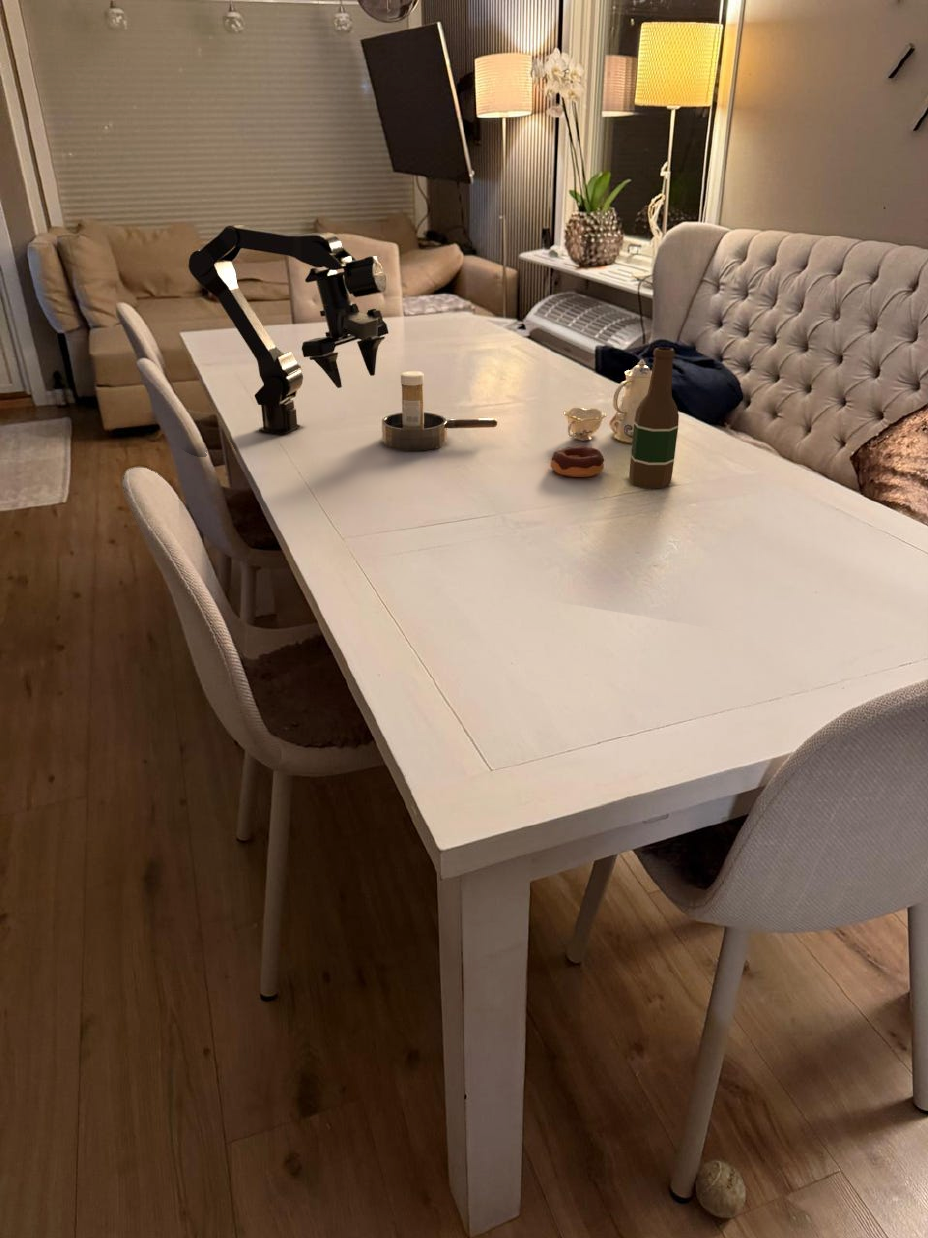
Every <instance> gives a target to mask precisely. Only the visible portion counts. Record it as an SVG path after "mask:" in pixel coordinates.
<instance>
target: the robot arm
mask: <svg viewBox="0 0 928 1238" xmlns="http://www.w3.org/2000/svg"><path fill="white" fill-rule="evenodd" d="M243 249H245V250H251V251H255V252H257V251H258V252H263V253H270V254H274V255H280V256H281V255H282V256H288V257H291V258H294V259H295V260H297V261H299V262H301V263H303V264H306V265H308V266H311V268H310V269H309V272H308V275H307V276H306V278H305V280H304V282H305V283H306V284H308V283H313V282H316V286H317V289H318V295H319V298H320V302H321V305H322V309H323V310H319V314H320V317H324V318H325V321H326V325H327V329H328V331H325V332H324V334H325V336H323V337H315V338H312V339H309V340H305V341H304V342H302V346H301V351H302V356H303V358H309V360H310V361H314V362H315V363H316V364H317V365H318V366H319V367H320V368H321V369H322V370H323V372H324V373H325V374H326V376H328V378H329V379H330V380H331V382H332V383H333V384H334V386H335V387H336V388H337V389H341V388H342V387H343V386H342V385H343V384H342V378H341V373H340V370H339V367H338V366H339V365H338V362H337V360H338V356H339V352H337V351H336V352H335V350H336V347H338V346H341V345H344V344H347V343H351V342H354V341H356V340H357V341H356V343H357V346H358V349H359V352H360V354H361V357H362V360H363V362H364V365H365V367H366V370H367V373H368V374H369V376H370V377H373V376H375V375H376V366H377V356H378V349H379V346H380V345H381V342H383V341H384V340H385V338H386V335H388V334H389V328H388V324H387V322H385V321H384V319H383V315H382V312H381V309H379V308H377V307H373V308H370V309H368V310H367V311H366V312H360V309H359V306H358V305H357V303H352V299H351V295H352V296H353V297H354V298H357V299H358V298H362V297H369V296H373V295H378V294H383V293H385V292H386V289H387V278H386V277H387V276H386V273H385V271H384V269H383V267H382V265H381V263H379V262H378V258H377V256H376V255H370V256H367V257H365V258H362V259H361V258H360V259H358V260H356V258H355V257H353V255H351V253H349V252H348V250H347V249H345V247H344V246H343V245H342V241H341V240H340V239H339V237H338V235H336V234H335V233H333V232H329V231H328V232H311V233H300V234H298V233H297V234H296V233H290V232H283V231H276V230H271V229H265V228H256V227H251V226H245V225H243V224H239V223H237V224H233V225H232V224H231V225H227V226H226V227H224V229H223V230H221V232H220V233H219V234H218V235H216V236H215V237H214V238H212V240H210V241H208V242H207V244H205V245H204V246H203V247H202V248H200V249H198V250H195V251H193V252H191V254H190V256H189V258H188V264H187V267H188V271H189V273H190V274H191V276H192V277H193V278H194V279H195V281H197V282H198V284H199V285H200V287H202V288H203V289H204V290H205V291H207V292H208V293H209V294H211V295H212V296H214V297H215V298H216V299H217V300H218V302H219V304H220V305H221V306H222V308H223V310H224V311H225V313H226V314H227V316H228V318H229V319H230V321H231V322H232V324H233V325H234V327H235V329H236V330H237V331H238V333H239V334H240V336H241V338H242V340H243V341H244V342H245V344H246V346H247V347H248V348H249V350H250V352H251V354H252V355H253V356H254V358H255V359H256V362H257V367H258V373H259V378H260V379H261V382H262V384H263V385H262V386H261V387H260V388H259V389H258V391H256V393H255V394H254V398H255V401H256V403H257V405H258V406H260V408H261V419H262V427H259V428H258V431H259V432H261V433H262V432H263V433H270V434H276V435H283V436H284V435H287V434H289V433H291V432H293V431H295V430H297V429H299V428H301V425H300V424H298V417H297V408H296V407H295V401H294V400H293V398H295V397H297V393H298V390H299V389H300V388H301V387H302V385H303V380H304V375H303V372H302V371H301V370H302V369H303V366H301V365H300V364H299V363H298V362H297V360H296V359H295V355H294V354H293V353H292V352H291V351H288V352H286V353H283V351H281V350H280V349H279V348H278V347H277V346H276V345H275V343H274V341H273V340H272V338H271V337H270V335H269V333H268V332H267V331H266V329H265V327H264V326H263V324H262V322H261V321H260V319H259V318H258V316H257V315H256V313H255V311H254V310H253V308H252V306H251V305H250V304H249V302H248V301H247V299H246V297H245V295H244V294H243V292H242V291H241V289H240V288H239V286H238V281H237V275H236V270H235V268H234V266H233V262H234V261H235V260H236V259H237V258H238V256H239V255H240V253H241V251H242V250H243ZM319 268H326V269H321V270H320V269H319ZM337 270H343V271H340V272H338V271H337Z"/></svg>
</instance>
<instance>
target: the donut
mask: <svg viewBox="0 0 928 1238" xmlns="http://www.w3.org/2000/svg"><path fill="white" fill-rule="evenodd" d="M550 461H551V462H550V464H549V465H550V468H551V469H552V470H553V471H554V472H555V473H556V474H558V475H561V476H566V477H571V478H589V477H594V476H596V475H598V474H599V473H601V472H602V471H603V470H604V469H605V464H604V463H605V458H604V455H603V453H602V452H601V451H600V450H599V449H598V448H595V447H589V446H568V447H564V448H560V449H557V450H556V451H554V452H553V454H552V456H551V459H550Z"/></svg>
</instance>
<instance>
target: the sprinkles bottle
mask: <svg viewBox="0 0 928 1238" xmlns="http://www.w3.org/2000/svg"><path fill="white" fill-rule="evenodd" d="M424 380H425V378H424V373H423V372H421V371H414V370H413V371H411V370H410V371H404V372H402V373H401V374H400V383H401V405H402V406H401V409H402V410H401V411H402V412H401V413H402V417H403V429H424V412H425V409H424V382H425V381H424Z"/></svg>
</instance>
